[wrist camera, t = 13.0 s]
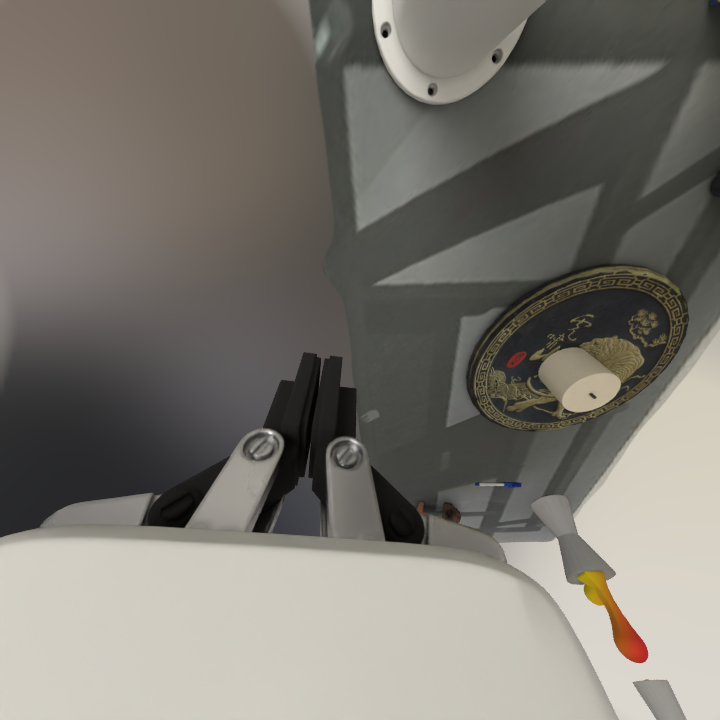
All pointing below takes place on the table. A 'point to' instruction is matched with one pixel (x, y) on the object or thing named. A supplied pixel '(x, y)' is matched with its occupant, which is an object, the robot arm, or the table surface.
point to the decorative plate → (577, 342)
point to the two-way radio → (716, 186)
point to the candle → (578, 380)
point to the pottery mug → (449, 512)
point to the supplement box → (714, 2)
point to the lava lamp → (603, 598)
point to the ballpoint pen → (499, 484)
